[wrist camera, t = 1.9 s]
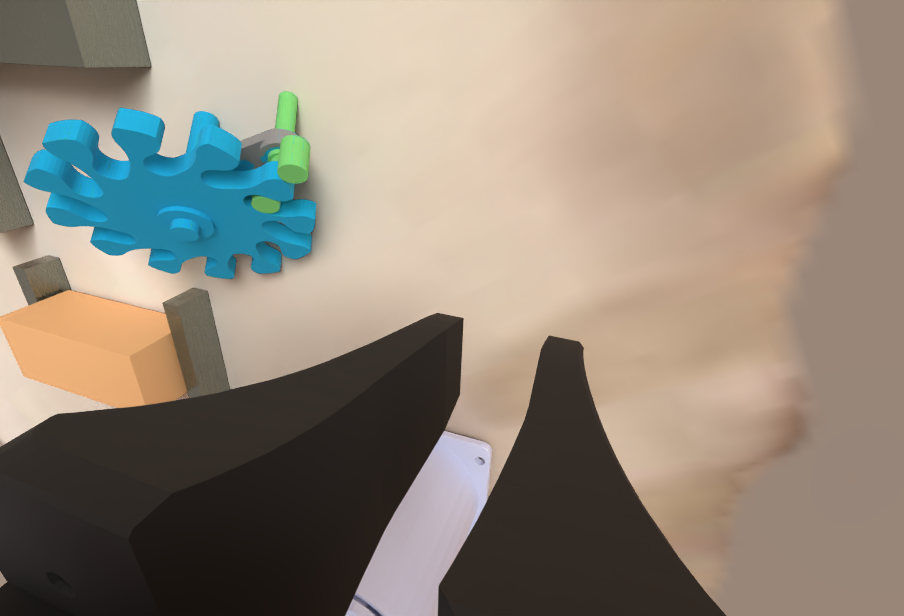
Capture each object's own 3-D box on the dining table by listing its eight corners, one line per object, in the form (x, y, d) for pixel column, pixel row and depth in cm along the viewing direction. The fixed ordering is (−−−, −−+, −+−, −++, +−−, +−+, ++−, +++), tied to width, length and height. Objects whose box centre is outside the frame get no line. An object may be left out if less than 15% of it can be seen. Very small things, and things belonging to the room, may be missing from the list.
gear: (193, 304, 25) (-53, 199, 16) (209, 208, 27) (2, 72, 19) (382, 255, 21) (197, 88, 13) (382, 150, 24) (225, -52, 15)
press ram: (206, 377, 29) (149, 418, 26) (88, 343, 32) (23, 376, 29) (192, 320, 28) (129, 356, 24) (68, 289, 30) (-4, 318, 27)
